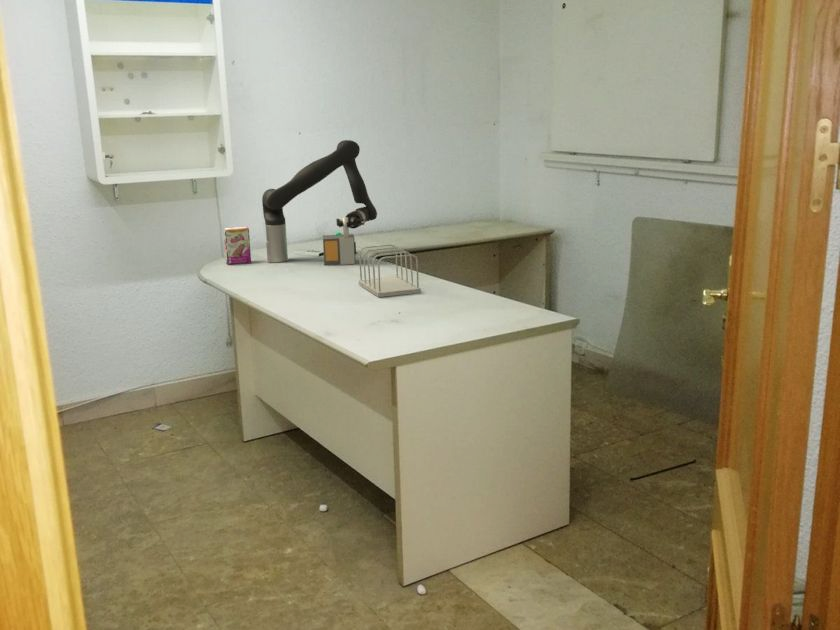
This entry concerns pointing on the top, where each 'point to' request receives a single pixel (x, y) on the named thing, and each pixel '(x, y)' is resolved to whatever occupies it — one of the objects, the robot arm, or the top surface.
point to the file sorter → (388, 284)
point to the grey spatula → (346, 245)
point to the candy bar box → (237, 245)
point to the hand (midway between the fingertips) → (343, 224)
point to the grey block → (333, 249)
